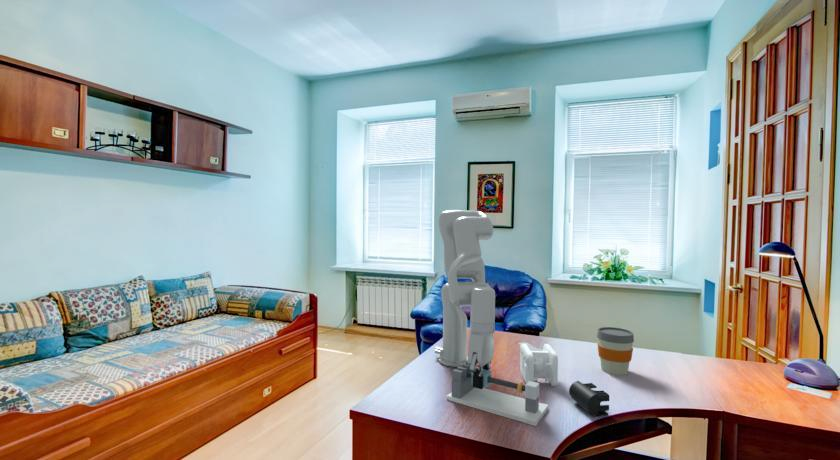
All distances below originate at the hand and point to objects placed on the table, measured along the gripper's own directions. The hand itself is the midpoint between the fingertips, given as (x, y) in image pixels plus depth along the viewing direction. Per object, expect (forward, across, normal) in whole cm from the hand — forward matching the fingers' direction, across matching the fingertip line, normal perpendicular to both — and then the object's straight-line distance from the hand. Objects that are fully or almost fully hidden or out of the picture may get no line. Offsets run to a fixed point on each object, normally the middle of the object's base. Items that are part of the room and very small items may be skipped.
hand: (481, 384), depth 123 cm
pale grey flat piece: (+6, -53, -4) cm, 53 cm away
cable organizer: (+5, -25, +10) cm, 27 cm away
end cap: (+5, -13, +29) cm, 32 cm away
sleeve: (0, 0, 0) cm, 0 cm away
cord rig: (+5, 0, +5) cm, 7 cm away
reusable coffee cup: (+5, -52, +31) cm, 61 cm away
